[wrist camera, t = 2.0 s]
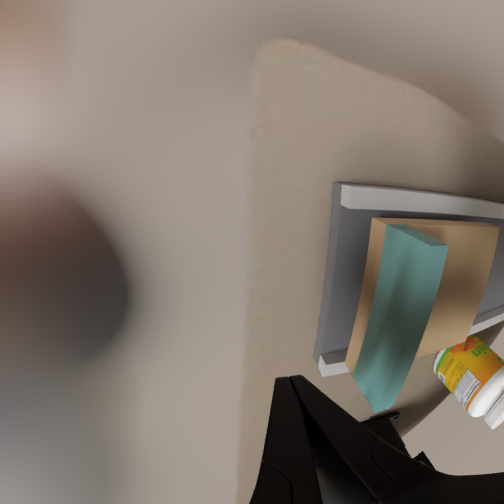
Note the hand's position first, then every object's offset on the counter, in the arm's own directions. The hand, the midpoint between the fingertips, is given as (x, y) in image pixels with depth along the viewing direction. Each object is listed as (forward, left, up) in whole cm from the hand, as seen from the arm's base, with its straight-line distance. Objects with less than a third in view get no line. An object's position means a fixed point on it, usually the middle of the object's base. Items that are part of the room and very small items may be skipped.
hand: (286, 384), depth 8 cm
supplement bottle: (-9, -19, -7) cm, 23 cm away
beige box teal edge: (0, -10, -6) cm, 12 cm away
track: (0, -15, -7) cm, 17 cm away
